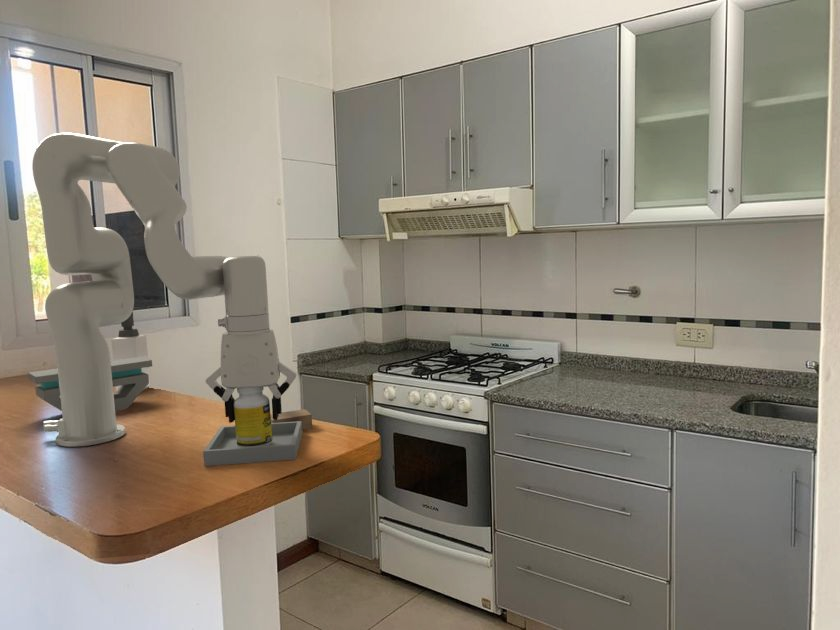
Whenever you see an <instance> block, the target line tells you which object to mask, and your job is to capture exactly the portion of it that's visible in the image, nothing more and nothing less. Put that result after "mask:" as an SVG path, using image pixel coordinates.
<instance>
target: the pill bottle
mask: <svg viewBox="0 0 840 630" xmlns="http://www.w3.org/2000/svg"><path fill="white" fill-rule="evenodd" d="M264 388H265V387H253V388H236V391H237V394H238V397H237V398H236V399H235V401H234V416H235V420H234V426H235V428H236V439H237V446H238V447H239V448H240V447H255V446H268V445H270V444H271V443H272V428H271V415H270V414H271V406H270V404H271V403H270V399H269V396H267V395H266V394H264V393H263V391H264Z"/></svg>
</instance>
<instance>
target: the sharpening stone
mask: <svg viewBox="0 0 840 630" xmlns="http://www.w3.org/2000/svg"><path fill="white" fill-rule="evenodd" d="M110 361H111V372H112V383H113V388H114V387H115V388H116V386H120V388H119V389H118V390H117V391H116V390H115V392H113V393H114V404H115V412H118V411H122V410H123V411H124V410H127V409H128V408H129V407H130V406H131V404H133V403H134V401H136V399H137V398H138V396H139V395H140V394H141V393H142V391H144V390H145V389H144V388H145V387H146V386H147V385H148V384H149V376H150V375H149V376H148V374H146V373H143V372H142V369H141V368H145V367H149V368H151V367H153V360H152V359H149V358H148V359H146V358H143V357H136V358H129V359H122V360H114V361H113V360H110ZM27 375H28V380H29V381H31V382H33V383H35V384H36V385H35V386H34V389H35V396H37V397H38V398H40V399H41V400H42V401H44V402H46V403H48V404H49V405H51V406H52V407H54V408H56V409H57V410H59V411H60V412H62V407H61V397H60V387H59V378H58V368H57V367H56V368H51V369H47V370H46V369H45V370H37V371H29V372H27ZM143 389H144V390H143Z"/></svg>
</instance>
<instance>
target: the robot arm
mask: <svg viewBox="0 0 840 630" xmlns="http://www.w3.org/2000/svg"><path fill="white" fill-rule="evenodd" d="M180 171H181V170H180V166H179V163H178V160H177V159H176V157H175V156H174V154H172V152H170V151H168V150H167V149H164V148H163V147H159V146H156V145H155V146H154V145H149V144H143V143H139V142H130V141H128V142H122V141H117V140H112V139H106V138H101V137H96V136H91V135H87V134H81V133H73V132H58V133H53V134H50V135H49V136H47V137H45V138H44V139H43V140H41V141H40V143H39V144H38V146H37V147H36V148H35V151H34V154H33V157H32V176H33V180H34V184H35V186H36V191H37V194H38V197H39V203H40V207H41V211H42V214H41V215H42V223H43V230H44V237H45V247H46V253H47V254H46V255H47V258H48V263H49V265H50V267H51V269H52V270H53V271H54V272H56V273H58V274H60V275H62V276H63V275H65V276H85V275H91V279H92V280H85V281H76V282H67V283H63V284H61V285H58V286H57V287H55V288H54V289H52V290H51V291H50V292H49V294H48V295H47V297H46V299H45V304H44V310H45V315H46V320H47V321H48V324H49V328H50V332H51V335H52V339H53V344H54V350H55V359H56V365H57V367H56V369H57V368H58V378H59V387H60V398H61V407H62V411H61V415H62V418H60V419H59V420H55V419H53V420H52V419H51V420H49V419H48V420H44V421H43V423H42V428H43V432H44V433H45V432H46V433H49V432H56V433H58V434H57V435H56V437H55V443H56V445H58V446H61V447H69V448H71V447H73V448H78V447H88V446H94V445H99V444H103V443H108V442H111V441H114V440H117V439H119V438H121V437H122V436H124V435H125V434H126V427H125V426H124V425H123V424H117V416H116V411H115V404H114V393H115V392H114V387H113V383H112V372H111V361H112V360H111V353H110V348H109V345H108V342H107V340H106V338H105V337H104V335H103V333H102V332H101V330H100V328H101V327H108V326H113V325H117V324H121V322H123V321H125V320H127V319H128V318H129V317H130V315H131V313H132V311H133V312H134V307H135V306H134V305H135V292H134V286H133V276H132V275H133V274H132V265H131V257H130V251H129V248H128V245H127V243H126V241H125V240H124V238H123V237H122V236H121V235H120V234H119V233H118V232H117V231H115V230H114V229H111V228H107V227H95V226H94V222H93V216H92V206H91V204H90V201H89V198H88V197H87V195H86V193H85V191H84V190H83V188H82V187H81V186H80V185H79V181H81V180H82V181H89V182H99V183H106V184H108V183H109V184H115V185H116V186H117V188H118V189H119V191H120V192H121V194H122V196H124V198H125V199H126V201H127V202H128V205H130V207H131V208H132V209H133V211H134V213H135V214H136V216H137V217H138V218H139V219H140V221H141V223H142V224H143V225H144V234H143V240H144V241H143V242H144V249H145V254H146V257H147V259H148V262H149V265H150V266H151V268H152V269H153V270H154V272H155V273H156V274H157V276H158V278H159V279H160V280H161V282H162V283H163V285H165V287H166V288H167V289H168V290H169V291H170V292H171V293H172V294H173V295H174V296H176V297H178V298H180V299H183V300H186V301H187V300H199V299H204V298H205V299H206V298H214V297H220V296H224V305H225V306H224V308H225V316H224V318H221V319H220V318H219V319H218V318H217V319H218V320H217V326H218V327H220V328H221V327H222V328H224V329H225V331H226V332H223V333H222V336H221V343H220V367H218V369H216V370H215V371H214V372H213V373H212V374H210V375H209V376H208V377H207V378H206V379H205V383H206V385H207V386H208V387H209V388H211V390H212V391H213V393H215V394H216V395H217V396H219V397H220V398H221V400H222V401H223V402H224V413H225V418H228V423H229V424H230V423H235V416H234V401H235V400H236V399H235V398H234V396H233V393H234V391H235V389H237V388H253V387H263V388H266V387H267V388H268V389H269V390H270V392H271V394H272V398H271V410H272V411H271V412H272V413H271V414H273V419H274V420H277V418H278V416H279V414H281V413H282V395H284V393H285V392H286V391H287V390H288V389H289V388H290V386H291V385H292V384H293V382H294V381H295V379H296V378H297V376H298V375H297V373H296V372H295V371H294V370H292V369H291V368H289V367H288V366H287V365H285V364H283V363H282V362H280V358H279V352H278V346H277V344H278V343H277V341H276V340H277V339H276V337H275V332H274V329H270V313H269V298H268V285H267V284H268V283H267V282H268V281H267V268H266V261H265V260H264V258H263V257H262V256H258V255H240V256H239V255H238V256H222V255H199V256H192V255H191V254H190V252H189V251H188V250H187V248H186V247H185V245H184V244H183V243H182V241H181V239H180V237H179V236H178V233H177V231H176V228H175V225H176V224H177V223H179V221H181V220H182V218H184V216H185V215H186V212H187V203H186V201H185V200H184V198H183V197H182V195H181V194H180V193H179V191H178V190H177V188H176V187H175V186H176V185H177V184H178V182H179V180H180V174H181V172H180ZM281 373H282V375H283V376H285V380H284V381H283V383H282V384H281V385H279V383H278V382H279V379H280V377H281ZM219 378H220V382H221V384H220V383H218V381H217V380H218V379H219Z"/></svg>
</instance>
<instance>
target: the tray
mask: <svg viewBox="0 0 840 630" xmlns="http://www.w3.org/2000/svg"><path fill="white" fill-rule="evenodd" d="M271 428H272V443H271V444H270V445H268V446H255V447H240V448H239V447H238V446H237V439H236V428H235V425H223V426H222V425H221V426H220V427H219V429H218V430H217V431H216V433H215V434H214V436H213V437H212V438H211V440H210V441H209V443H208V444H207V445H206V446H205V449H203V451H202V454H203V466H204V467H209V466H210V467H211V466H225V465H237V464H251V463H253V464H254V463H263V462H264V463H265V462H266V463H267V462H280V461H292V460H295V461H296V460H297V456H298V452H299V448H300V445H301V441H302V437H303V430H302V421H296V422H280V423H271Z"/></svg>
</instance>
